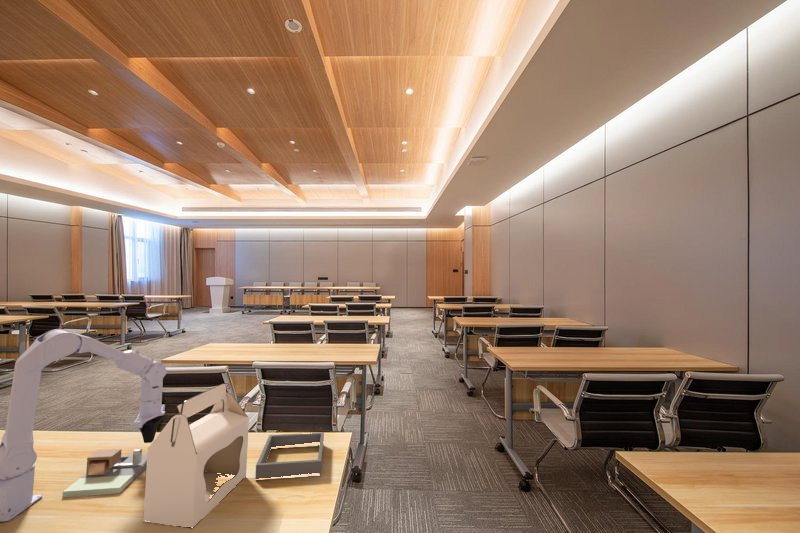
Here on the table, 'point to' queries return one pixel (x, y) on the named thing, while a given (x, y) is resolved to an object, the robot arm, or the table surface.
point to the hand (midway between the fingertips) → (148, 441)
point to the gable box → (196, 459)
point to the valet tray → (291, 466)
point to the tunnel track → (110, 481)
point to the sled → (103, 466)
